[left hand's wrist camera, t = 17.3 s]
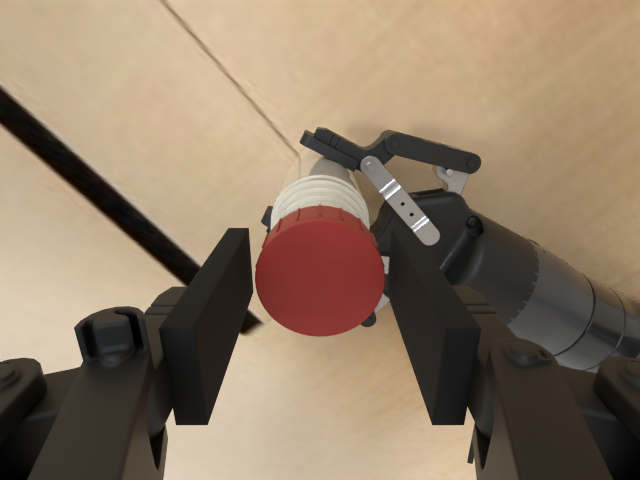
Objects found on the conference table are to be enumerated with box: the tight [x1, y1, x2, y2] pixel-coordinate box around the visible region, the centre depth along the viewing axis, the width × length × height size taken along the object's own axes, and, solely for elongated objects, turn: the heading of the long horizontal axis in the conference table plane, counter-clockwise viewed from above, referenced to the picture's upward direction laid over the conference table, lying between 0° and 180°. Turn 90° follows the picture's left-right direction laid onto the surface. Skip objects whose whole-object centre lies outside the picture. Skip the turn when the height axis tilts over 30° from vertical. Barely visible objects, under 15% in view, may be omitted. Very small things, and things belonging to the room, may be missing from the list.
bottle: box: [271, 148, 370, 231], centre depth 22 cm, size 5×5×18 cm
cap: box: [255, 204, 385, 336], centre depth 14 cm, size 4×5×2 cm
